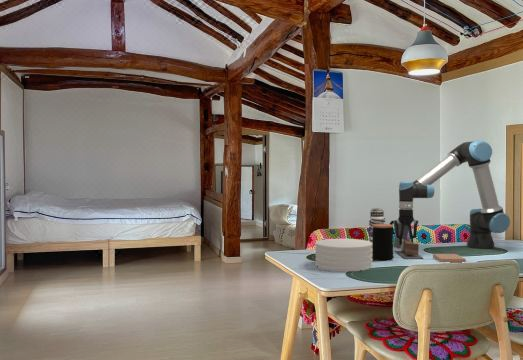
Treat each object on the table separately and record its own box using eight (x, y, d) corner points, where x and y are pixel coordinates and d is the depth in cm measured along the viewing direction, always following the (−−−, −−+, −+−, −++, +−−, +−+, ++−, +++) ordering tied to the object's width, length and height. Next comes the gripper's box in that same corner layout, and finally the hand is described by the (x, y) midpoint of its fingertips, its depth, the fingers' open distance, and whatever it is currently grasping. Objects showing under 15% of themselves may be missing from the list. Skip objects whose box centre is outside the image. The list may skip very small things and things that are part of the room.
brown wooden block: (397, 249, 268) (397, 239, 268) (410, 249, 267) (410, 239, 267) (405, 255, 250) (405, 243, 250) (418, 255, 250) (418, 243, 250)
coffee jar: (391, 256, 253) (391, 223, 253) (394, 260, 243) (394, 226, 242) (371, 256, 255) (371, 223, 254) (374, 260, 244) (373, 226, 244)
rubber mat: (412, 251, 268) (412, 250, 268) (423, 259, 246) (423, 257, 246) (394, 251, 269) (394, 250, 269) (404, 259, 247) (404, 257, 247)
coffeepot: (415, 247, 282) (415, 218, 281) (405, 249, 277) (405, 219, 276) (395, 244, 295) (395, 216, 294) (385, 246, 289) (384, 217, 289)
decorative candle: (388, 252, 267) (388, 208, 267) (375, 253, 264) (375, 209, 263) (379, 249, 276) (379, 207, 275) (365, 251, 272) (365, 208, 272)
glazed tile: (455, 253, 249) (465, 259, 235) (455, 258, 249) (465, 264, 235) (432, 253, 250) (441, 259, 236) (432, 258, 250) (441, 264, 236)
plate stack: (333, 258, 253) (333, 237, 253) (382, 264, 235) (381, 241, 235) (304, 266, 231) (304, 243, 231) (355, 274, 213) (355, 249, 213)
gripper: (392, 209, 259) (392, 251, 259) (423, 209, 258) (422, 251, 258) (389, 208, 266) (389, 249, 267) (419, 208, 265) (419, 249, 266)
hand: (406, 250), depth 263 cm, fingers closed on brown wooden block, 3 cm apart
